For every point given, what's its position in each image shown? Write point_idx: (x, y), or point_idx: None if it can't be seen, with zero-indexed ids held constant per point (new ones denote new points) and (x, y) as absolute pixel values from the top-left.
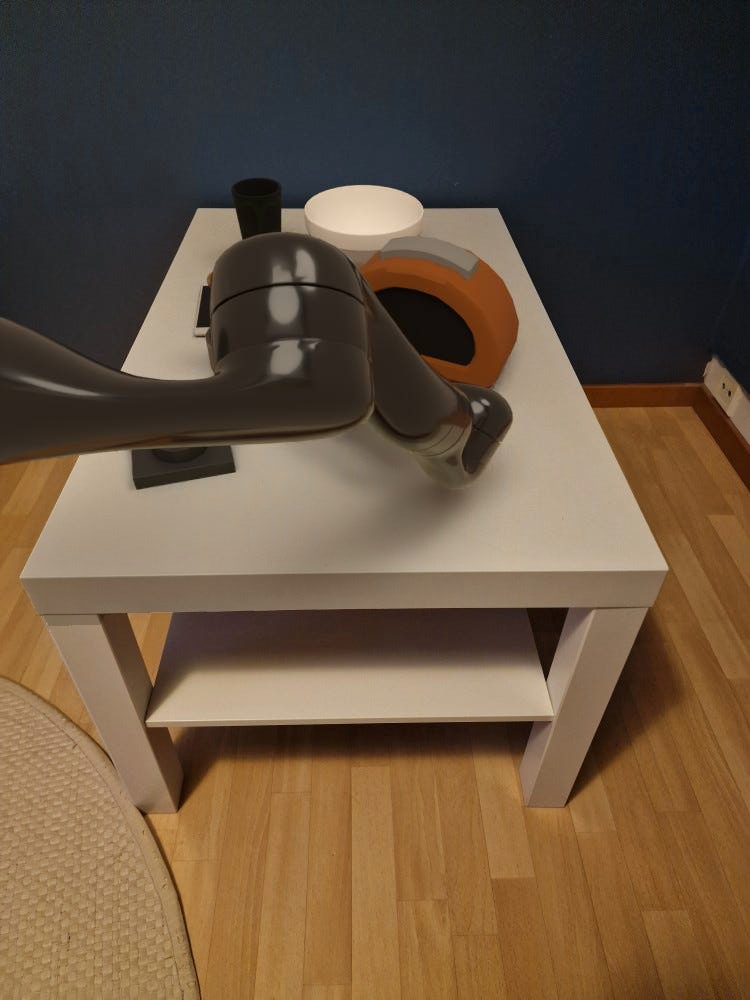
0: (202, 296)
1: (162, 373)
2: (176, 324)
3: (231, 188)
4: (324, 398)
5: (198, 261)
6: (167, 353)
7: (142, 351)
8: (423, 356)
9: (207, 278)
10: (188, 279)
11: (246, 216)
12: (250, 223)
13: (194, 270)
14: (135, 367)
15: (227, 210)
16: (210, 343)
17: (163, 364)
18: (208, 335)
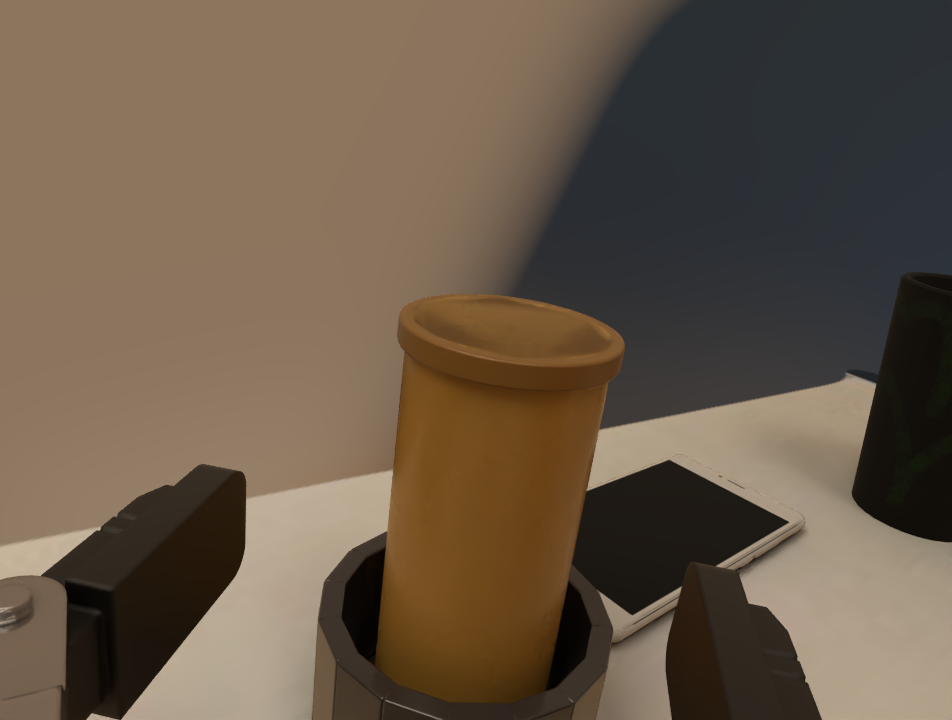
0: (635, 475)
1: (249, 563)
2: None
3: (906, 273)
4: None
5: (733, 427)
6: (358, 529)
7: (333, 487)
8: None
9: (442, 295)
10: (665, 439)
11: (907, 349)
12: (910, 374)
13: (702, 434)
14: (250, 504)
15: None
16: (341, 566)
17: (298, 545)
18: None
